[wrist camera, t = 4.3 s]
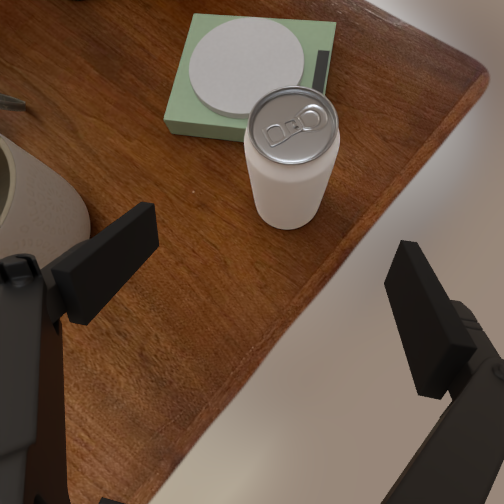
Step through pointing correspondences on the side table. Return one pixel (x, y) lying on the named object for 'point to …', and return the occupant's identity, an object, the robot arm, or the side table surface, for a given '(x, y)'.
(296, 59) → the scale
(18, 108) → the binoculars
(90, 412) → the side table surface
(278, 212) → the can
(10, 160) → the planter
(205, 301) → the side table surface
